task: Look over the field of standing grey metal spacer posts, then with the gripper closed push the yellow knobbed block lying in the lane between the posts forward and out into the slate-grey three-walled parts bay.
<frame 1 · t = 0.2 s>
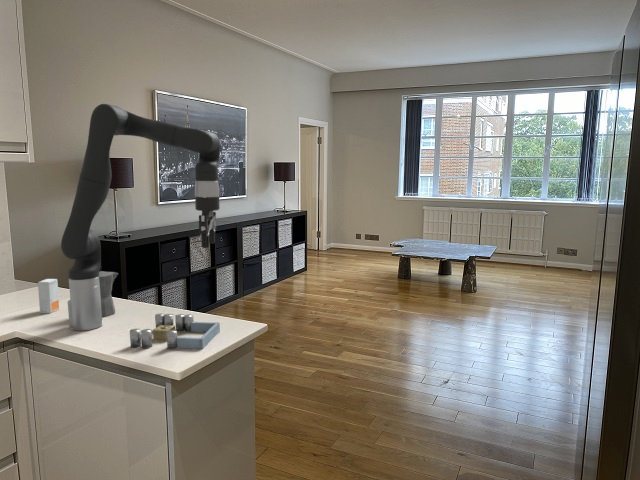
hand: (208, 245, 155), 29 cm above the counter, fingers open, 8 cm apart
parts bay: (196, 339, 151), on the counter
skincare box: (50, 311, 182), on the counter
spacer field: (164, 337, 152), on the counter
coffeepot: (99, 314, 178), on the counter
yellow knobbed block: (164, 338, 152), on the counter
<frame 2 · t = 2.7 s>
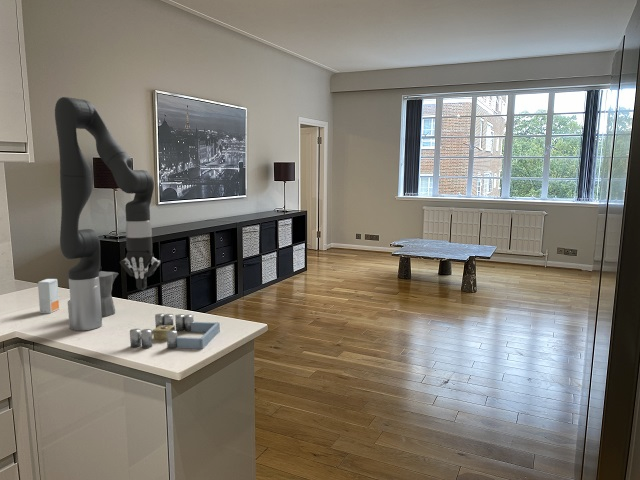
hand: (141, 289, 151), 16 cm above the counter, fingers closed
nothing on the counter moved.
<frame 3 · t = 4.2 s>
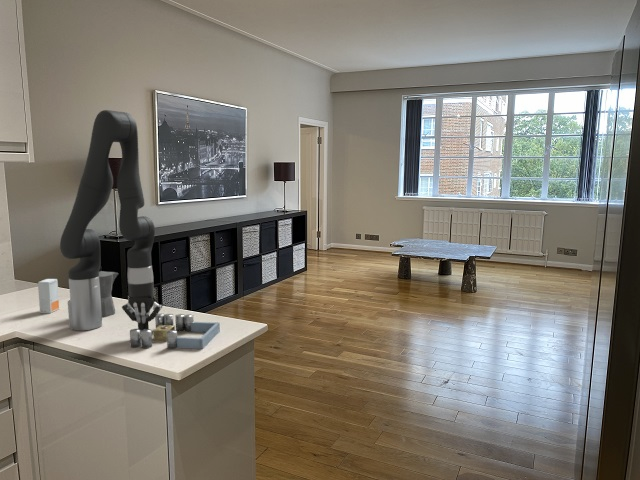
hand: (143, 333, 153), 1 cm above the counter, fingers closed
nothing on the counter moved.
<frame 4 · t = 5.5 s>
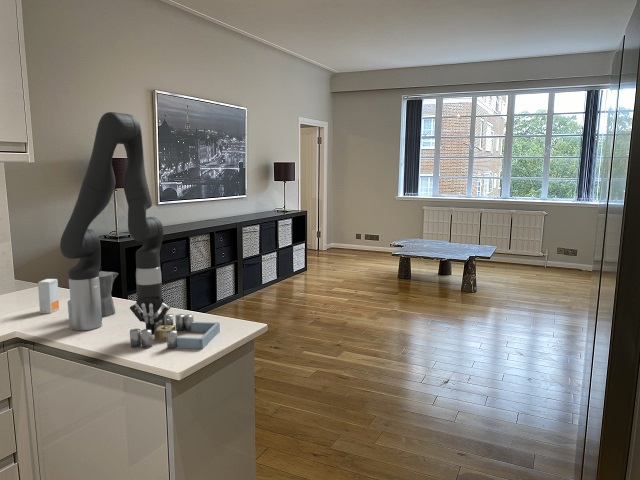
hand: (151, 334, 153), 1 cm above the counter, fingers closed
nothing on the counter moved.
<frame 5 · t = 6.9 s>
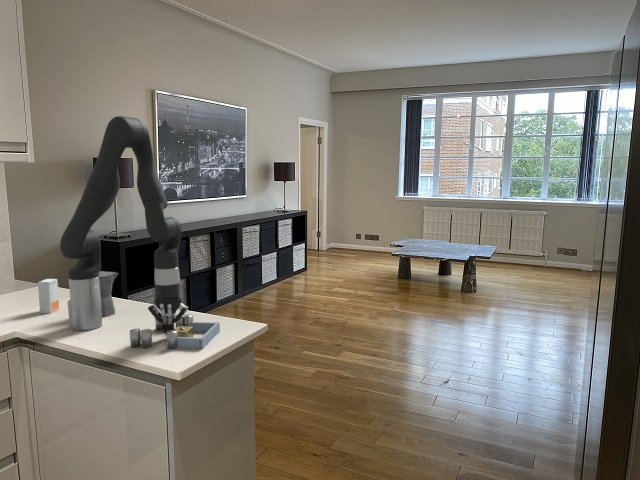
hand: (169, 334, 152), 1 cm above the counter, fingers closed
yellow knobbed block: (182, 339, 151), on the counter
everything else where it was.
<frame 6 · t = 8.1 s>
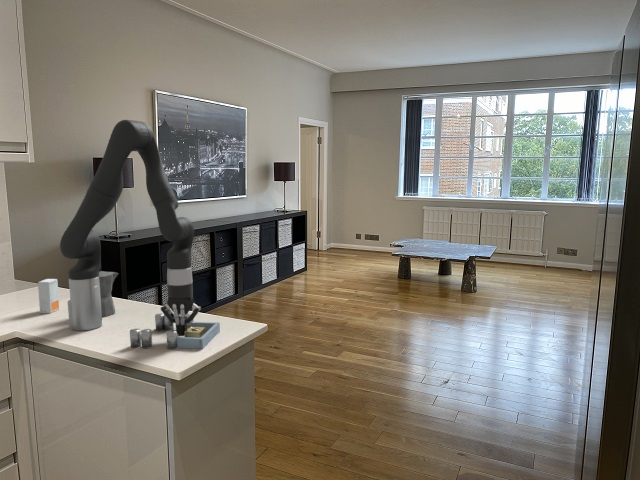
hand: (182, 335, 151), 1 cm above the counter, fingers closed
yellow knobbed block: (195, 340, 151), on the counter
everything else where it was.
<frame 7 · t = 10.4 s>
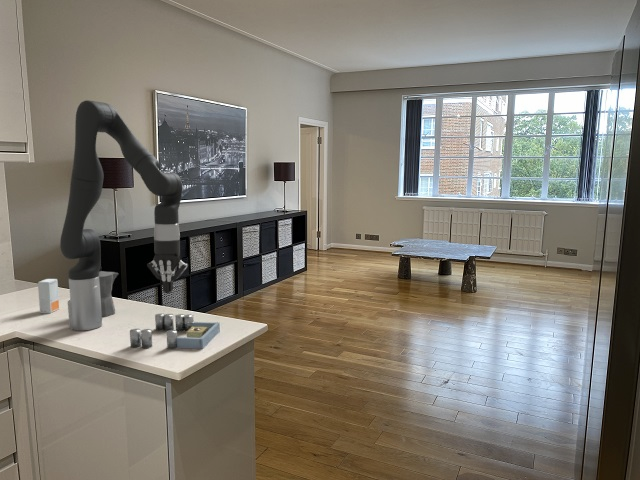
hand: (168, 292, 150), 15 cm above the counter, fingers closed
nothing on the counter moved.
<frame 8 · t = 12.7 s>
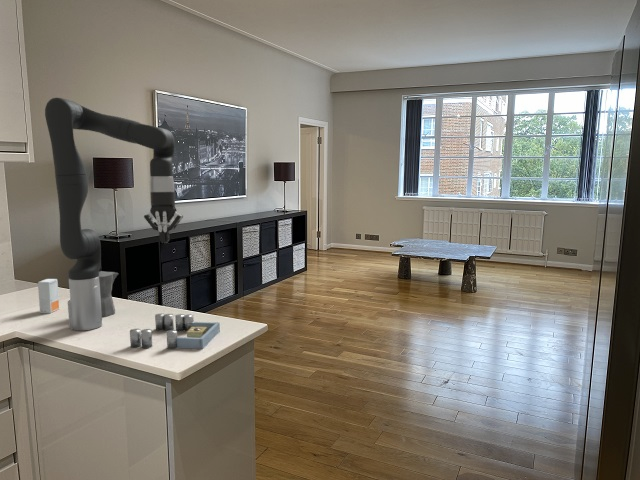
hand: (164, 243, 158), 29 cm above the counter, fingers closed
nothing on the counter moved.
at the end: yellow knobbed block inside the target area (0.6 cm from its centre), on the counter; yellow knobbed block moved 11.0 cm from its start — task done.
